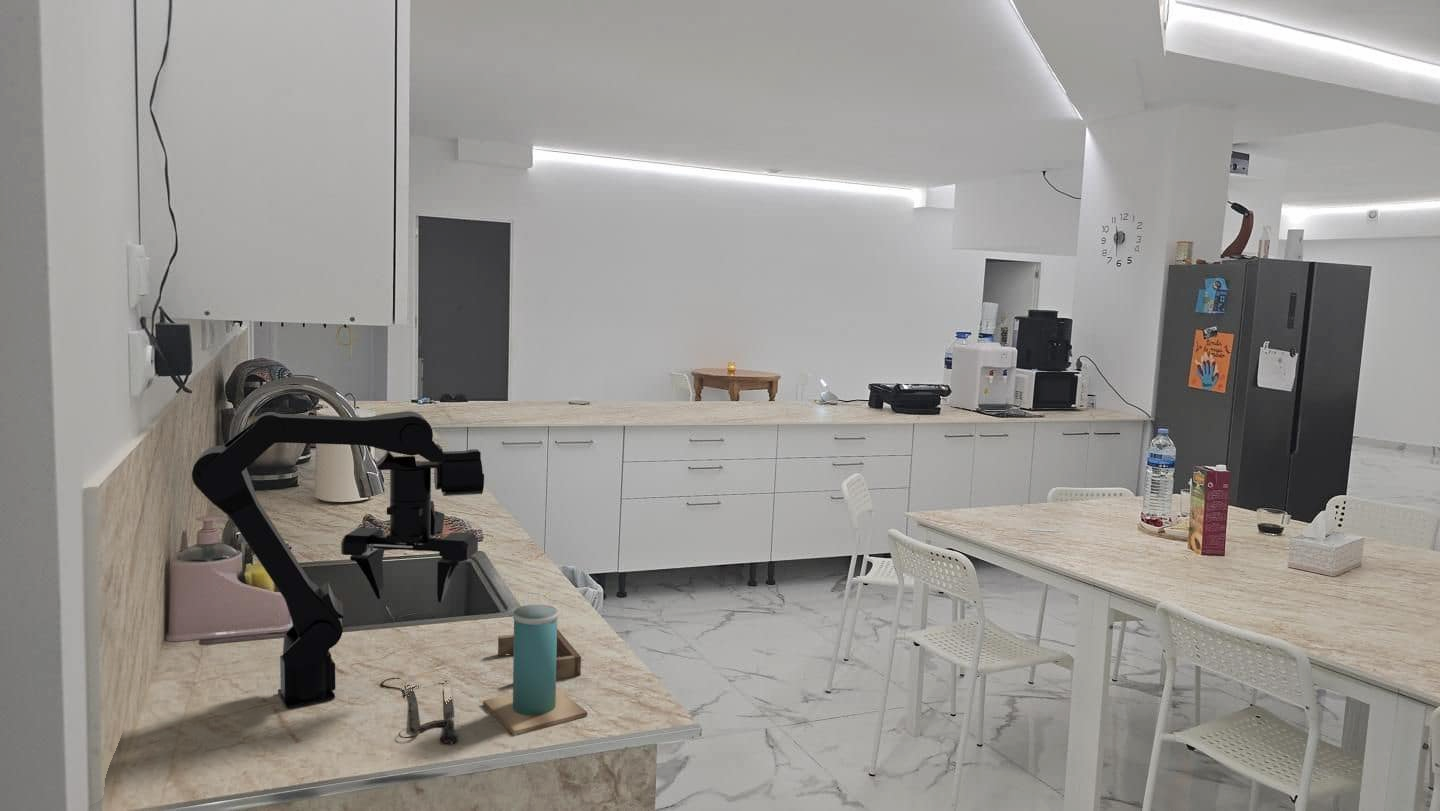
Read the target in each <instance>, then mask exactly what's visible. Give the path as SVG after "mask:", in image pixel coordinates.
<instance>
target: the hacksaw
mask: <svg viewBox="0 0 1440 811" xmlns="http://www.w3.org/2000/svg"><path fill="white" fill-rule="evenodd" d="M395 678H396V679H395ZM390 679H391V680H401V679H402V678H401V677H391V678H387V679H386V678H385V679H384V680H382V681H381V682H380V684H381V685H380V686H381V688H384V687H386V688H385V689H389V688H395V689H394V690H397V689H401V690H402V689H403V688H400V687H395V686H390V685H386V684H384V683H385V681H386V682H388V681H390ZM387 680H388V681H387ZM444 681H445V682H447V681H448V680H444ZM406 685H407V684H406ZM410 685H411V684H408V685H407V687H408V686H410ZM421 685H422V684H421ZM421 685H420V686H421ZM411 686H412V685H411ZM417 686H418V687H419V685H416V686H414V687H412V688H411V687H410V688H408V689H407V690H408V691H406V690H404V689H403V690H402V691H403V692H404V695H403V694H402V695H403V696H404V697H405V696H406V695H407V692H408V695H409V696H408V695H407V698H408V697H409V700H410V701H409V700H408V704H409V706H410V707H408V708H410V709H409V710H408V711H410V712H409V730H410V731H411V732H414V734H413V735H412V734H411V735H409V736H404V735H401V732H403V731H405V728H403V729H401V731H399V732H398V737H400V738H402V739H412V738H416V737H418V735H419V734H420V733H421V732H422V731H426V730H427V729H430V728H433V727H438V726H444V732H443V733H442V735H440V737H439V741H440V744H441V745H444V744H449V745H452V744H451V743H453V744H456V743H457V742H458V740H459V738H458V737H459V735H457V734H456V730H455V721H454V720H455V719H454V718H455V711H454V710H455V709H454V700H453V698H452V699H451V700H449V699H448V700H449V702H448V701H446V702H447V704H446V702H445V704H444V716H445V719H438V720H436V719H433V720H432V721H428V722H424V723H423V724H421V720H420V714H419V706H418V701H417V700H418V699H417V696H416V693H415V691H413V690H414V689H413V688H415V687H417ZM405 687H406V686H405V685H404V688H405ZM396 688H397V689H396ZM411 689H412V691H411ZM401 690H400V691H401ZM409 690H410V691H409ZM402 691H401V692H402ZM403 692H402V693H403ZM403 696H402V697H403ZM404 697H403V698H404ZM450 698H451V697H450ZM409 702H410V703H409Z"/></svg>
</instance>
